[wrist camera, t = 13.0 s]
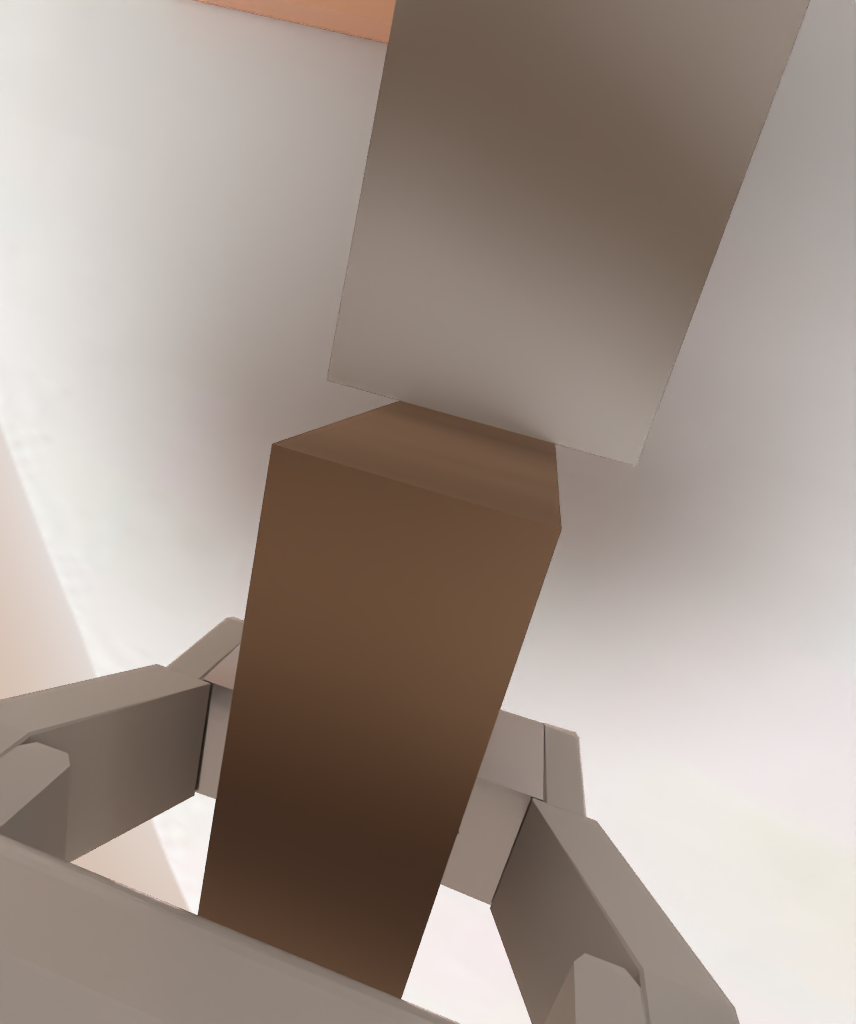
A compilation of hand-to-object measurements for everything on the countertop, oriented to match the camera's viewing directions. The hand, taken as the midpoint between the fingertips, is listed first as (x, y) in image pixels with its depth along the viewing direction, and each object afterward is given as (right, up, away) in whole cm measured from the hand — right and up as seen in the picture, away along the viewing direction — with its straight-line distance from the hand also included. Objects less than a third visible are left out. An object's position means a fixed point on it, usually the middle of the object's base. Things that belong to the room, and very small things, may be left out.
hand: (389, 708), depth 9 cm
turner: (+2, +5, +1) cm, 5 cm away
